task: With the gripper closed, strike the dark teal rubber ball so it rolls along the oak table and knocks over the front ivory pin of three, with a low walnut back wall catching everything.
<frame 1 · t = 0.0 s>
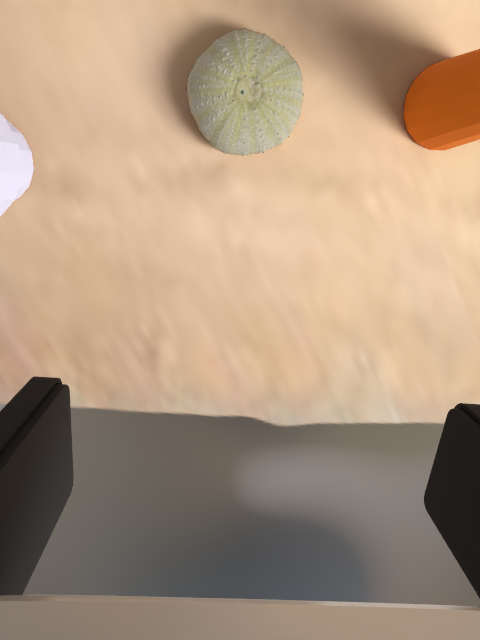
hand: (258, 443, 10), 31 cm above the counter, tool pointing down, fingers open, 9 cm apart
sea urchin shell: (243, 100, 36), on the counter
spray bottle: (440, 84, 36), on the counter
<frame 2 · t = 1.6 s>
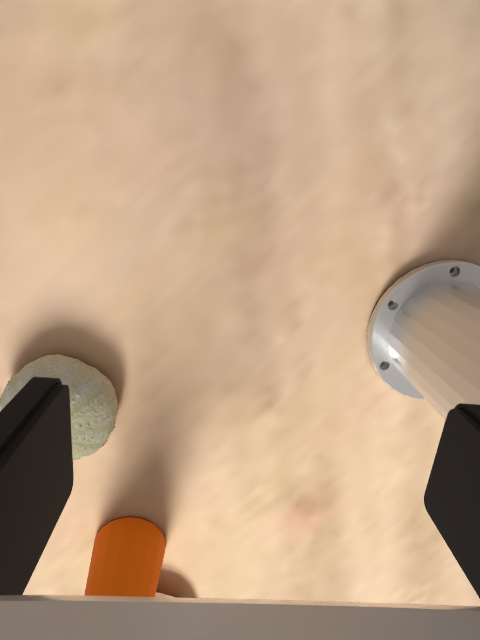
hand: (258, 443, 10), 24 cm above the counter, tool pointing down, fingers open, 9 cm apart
sea urchin shell: (69, 395, 37), on the counter
spray bottle: (147, 534, 43), on the counter
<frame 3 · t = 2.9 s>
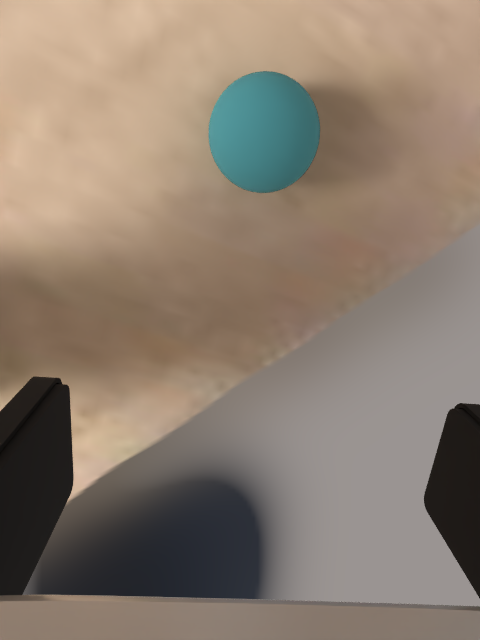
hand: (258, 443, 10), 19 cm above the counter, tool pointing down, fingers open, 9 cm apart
ball: (263, 135, 23), on the counter
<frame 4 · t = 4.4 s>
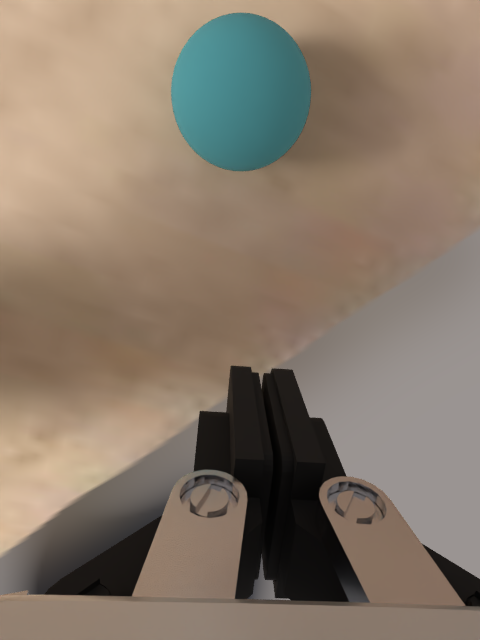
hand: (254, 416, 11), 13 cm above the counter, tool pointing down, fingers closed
ball: (241, 98, 18), on the counter
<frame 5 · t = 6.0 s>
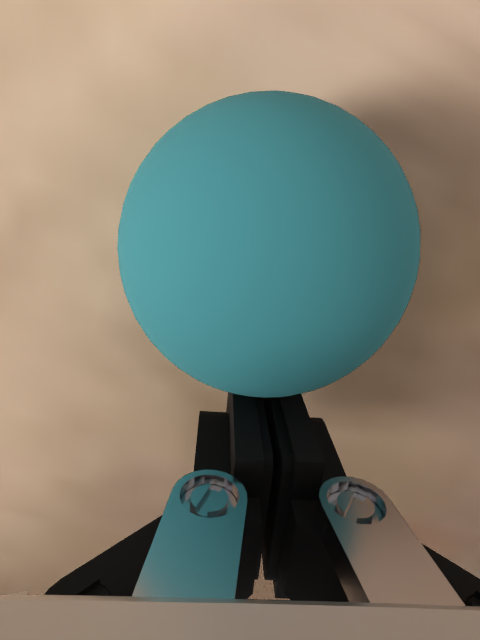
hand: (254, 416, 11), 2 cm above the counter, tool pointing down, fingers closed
ball: (265, 252, 9), on the counter
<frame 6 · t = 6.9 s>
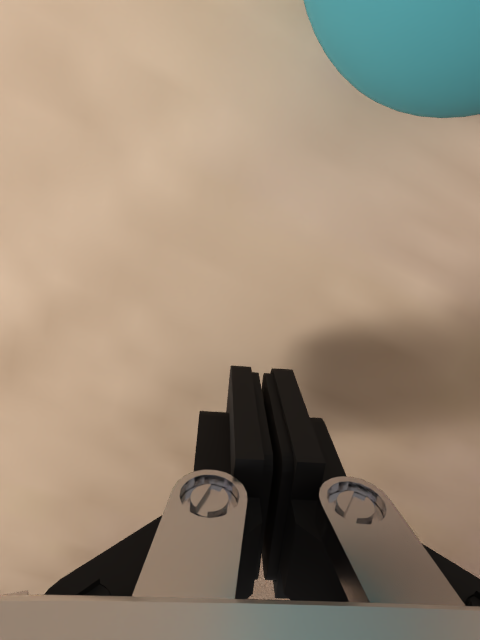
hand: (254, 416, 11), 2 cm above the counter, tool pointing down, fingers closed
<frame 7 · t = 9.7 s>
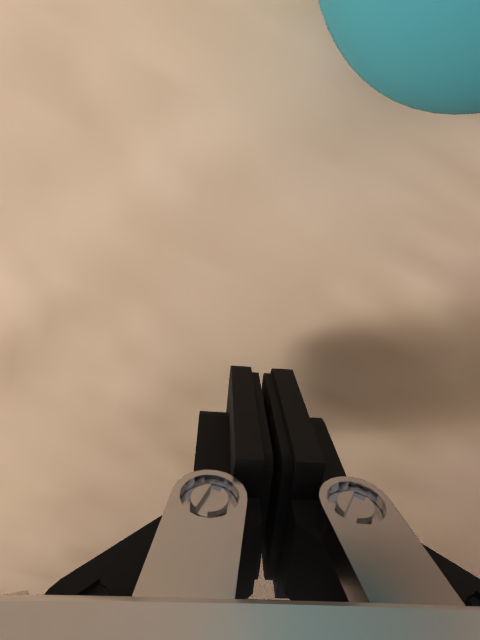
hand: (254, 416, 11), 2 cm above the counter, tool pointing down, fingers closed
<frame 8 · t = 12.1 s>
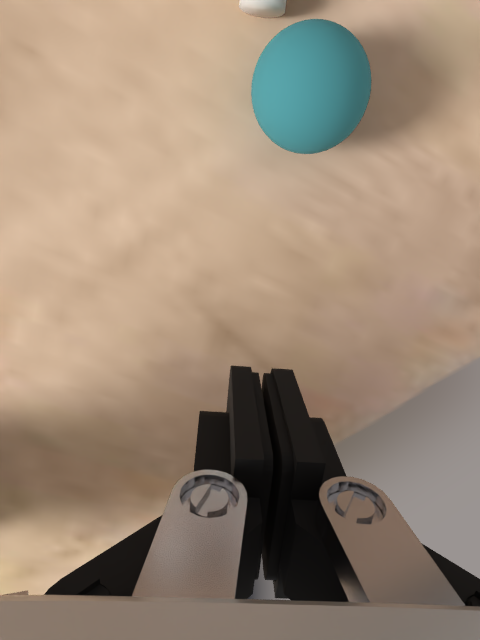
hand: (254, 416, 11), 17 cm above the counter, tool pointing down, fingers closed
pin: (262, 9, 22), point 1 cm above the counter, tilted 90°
ball: (309, 90, 22), on the counter
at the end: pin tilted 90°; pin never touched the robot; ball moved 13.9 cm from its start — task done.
